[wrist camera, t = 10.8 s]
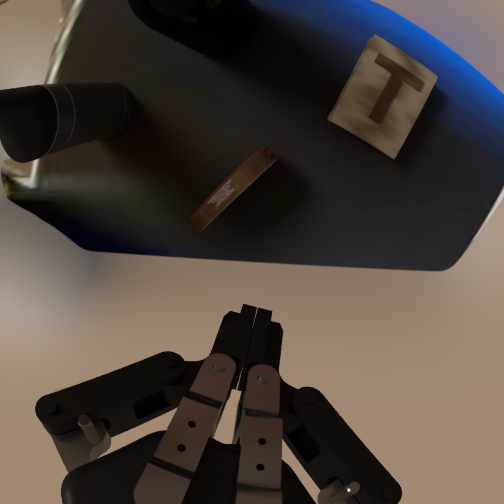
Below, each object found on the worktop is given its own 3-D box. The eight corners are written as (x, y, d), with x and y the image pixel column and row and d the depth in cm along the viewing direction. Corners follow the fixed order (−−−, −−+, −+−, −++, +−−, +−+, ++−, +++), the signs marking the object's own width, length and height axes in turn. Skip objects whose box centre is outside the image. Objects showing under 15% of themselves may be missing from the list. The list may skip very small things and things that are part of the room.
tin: (212, 220, 47) (195, 243, 40) (198, 207, 46) (178, 227, 39) (282, 155, 41) (278, 166, 33) (266, 139, 40) (259, 146, 33)
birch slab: (329, 120, 34) (375, 33, 27) (326, 119, 38) (368, 40, 31) (394, 159, 34) (438, 76, 28) (386, 154, 38) (426, 78, 32)
